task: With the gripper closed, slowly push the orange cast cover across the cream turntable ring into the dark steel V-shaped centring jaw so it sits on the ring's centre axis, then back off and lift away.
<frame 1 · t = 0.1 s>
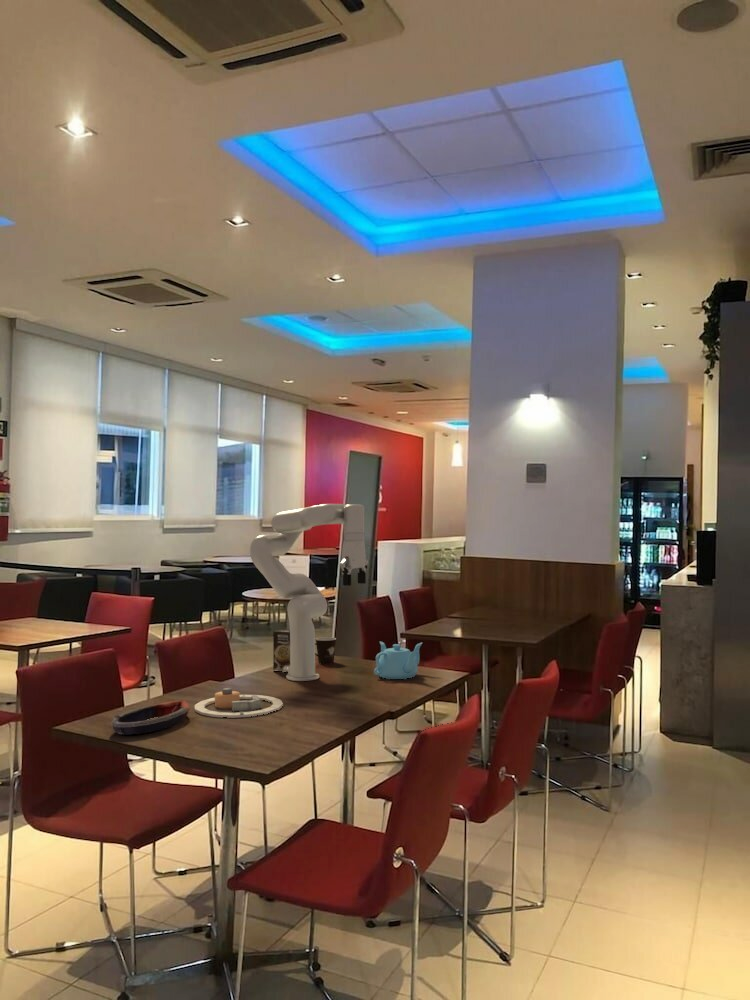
hand: (354, 584, 300), 37 cm above the table, tool pointing down, fingers open, 9 cm apart
centring jaw: (238, 707, 265), on the table
turntable ring: (238, 705, 265), point 1 cm above the table, hinge at 0.0°
teapot: (399, 676, 314), on the table
coffee box: (286, 671, 326), on the table
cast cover: (227, 705, 268), resting in turntable ring
dish: (153, 726, 244), on the table
coffee mug: (322, 663, 343), on the table
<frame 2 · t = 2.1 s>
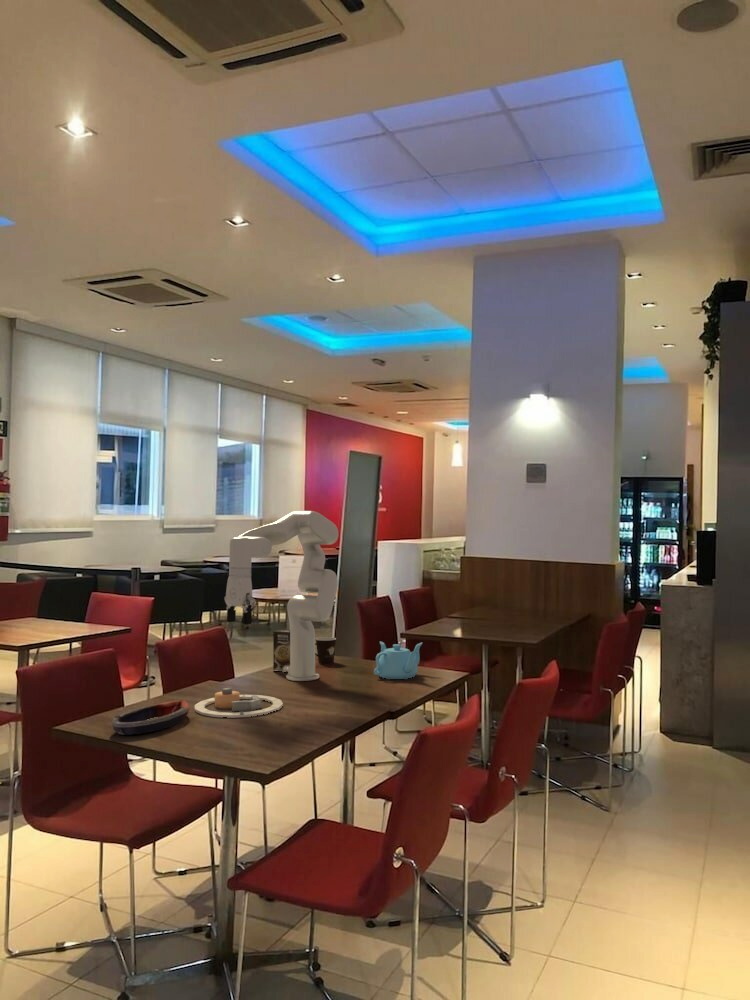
hand: (239, 622, 281), 25 cm above the table, tool pointing down, fingers open, 9 cm apart
nothing on the table moved.
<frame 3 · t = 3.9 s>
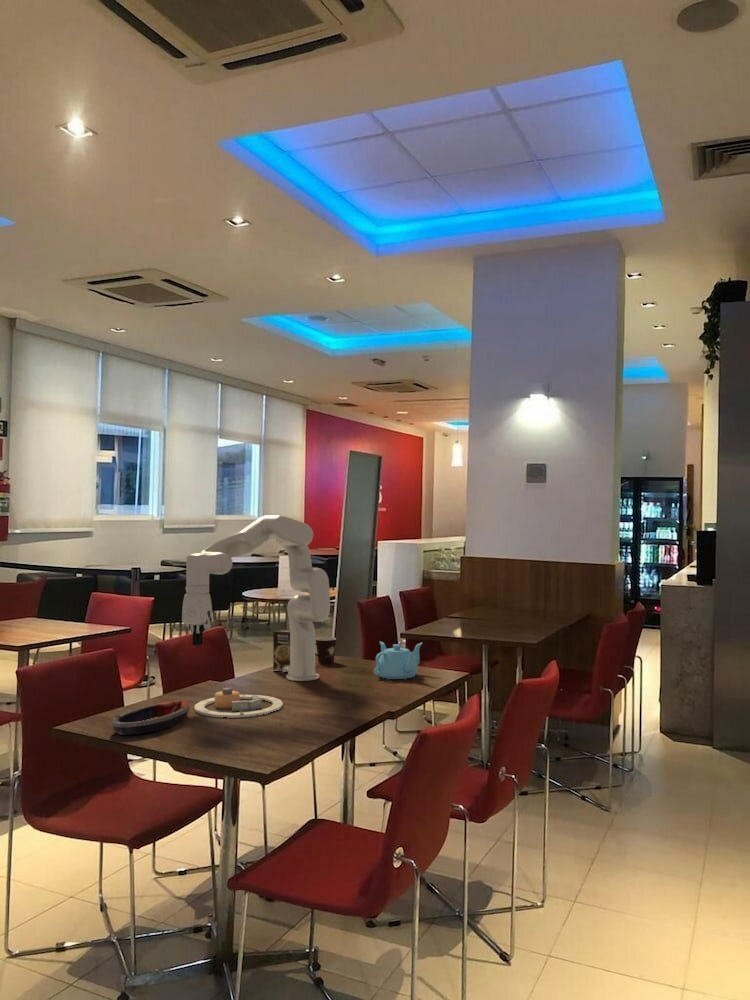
hand: (197, 644, 275), 19 cm above the table, tool pointing down, fingers closed
nothing on the table moved.
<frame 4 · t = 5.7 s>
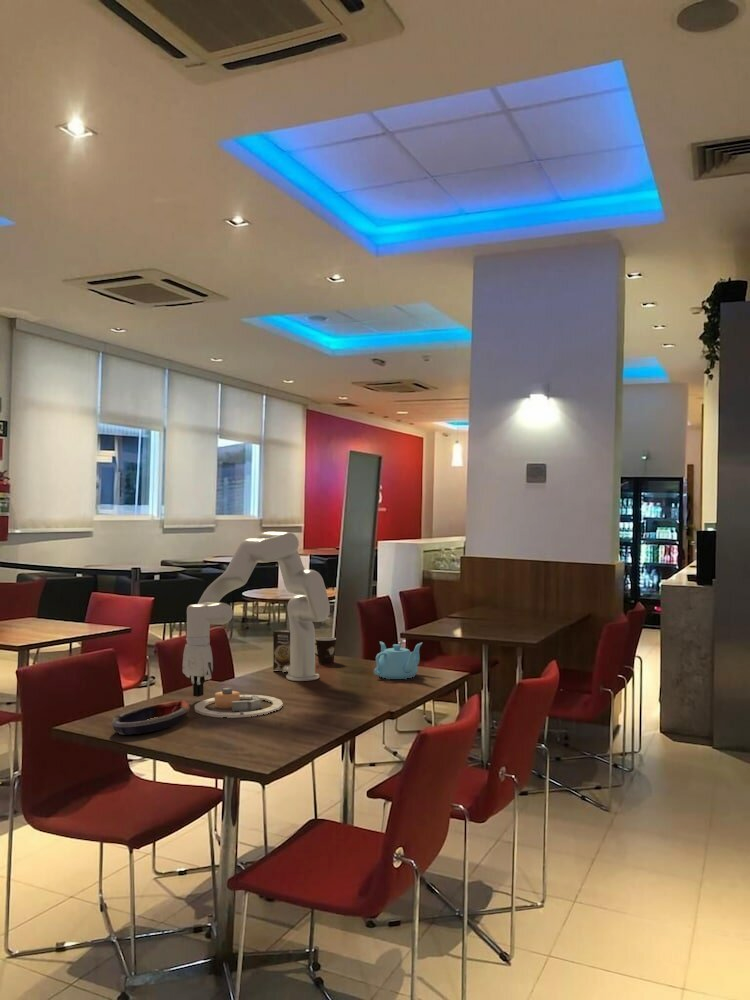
hand: (198, 695, 275), 2 cm above the table, tool pointing down, fingers closed
nothing on the table moved.
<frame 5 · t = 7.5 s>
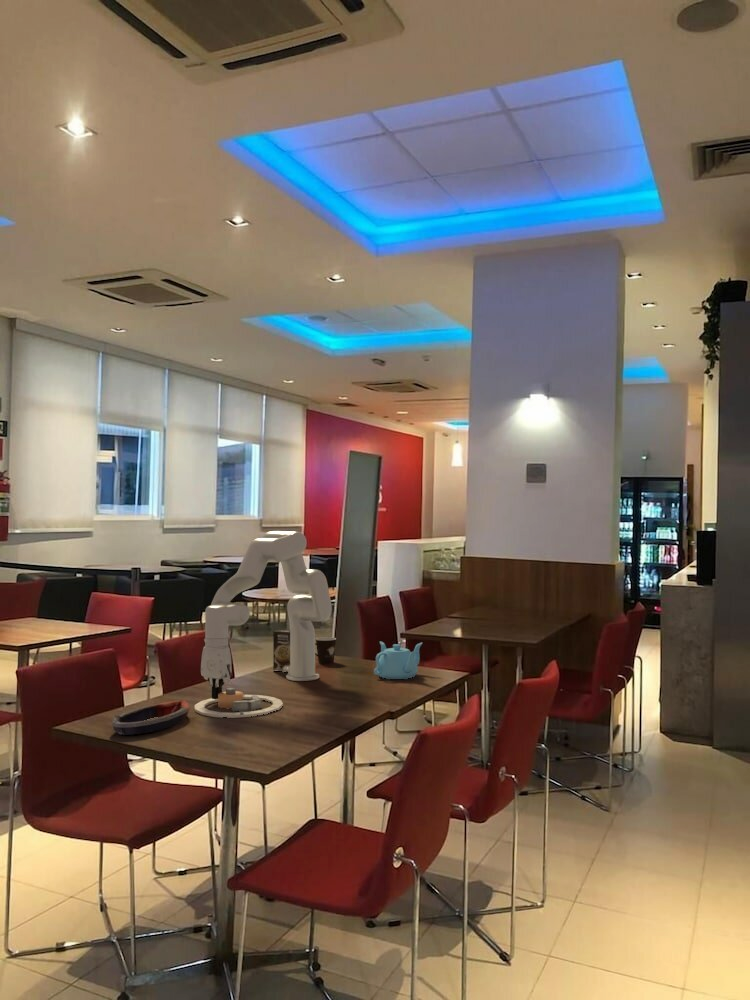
hand: (216, 698, 270), 2 cm above the table, tool pointing down, fingers closed
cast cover: (230, 705, 267), resting in turntable ring, touching gripper
everything else where it was.
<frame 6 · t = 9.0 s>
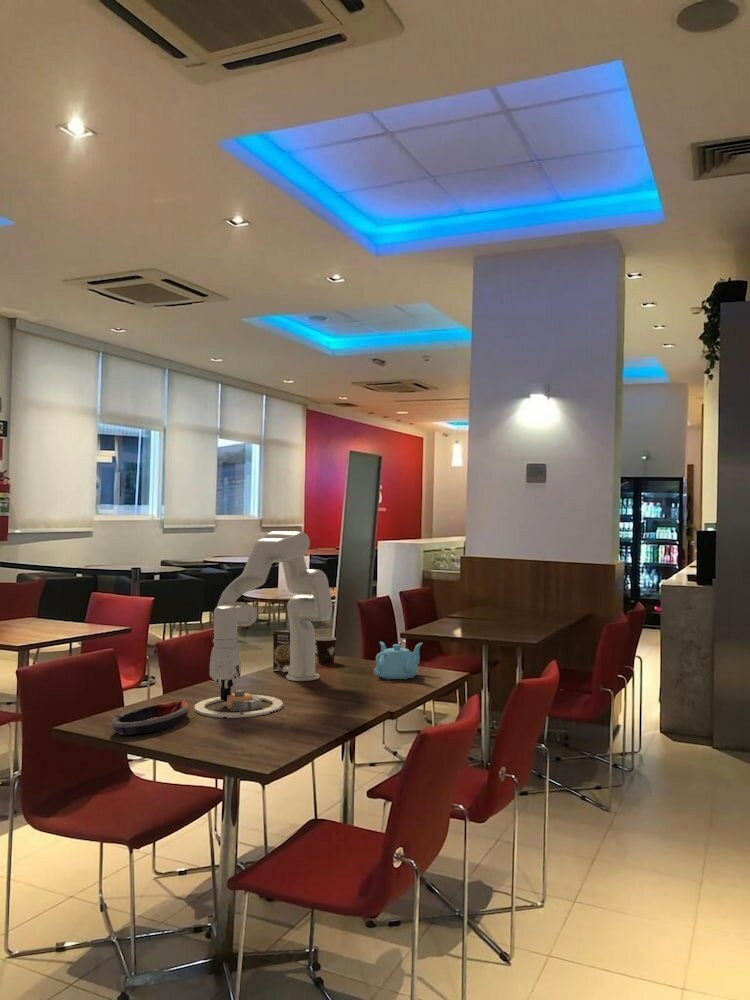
hand: (225, 699, 268), 2 cm above the table, tool pointing down, fingers closed
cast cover: (239, 708, 265), resting in turntable ring
everything else where it was.
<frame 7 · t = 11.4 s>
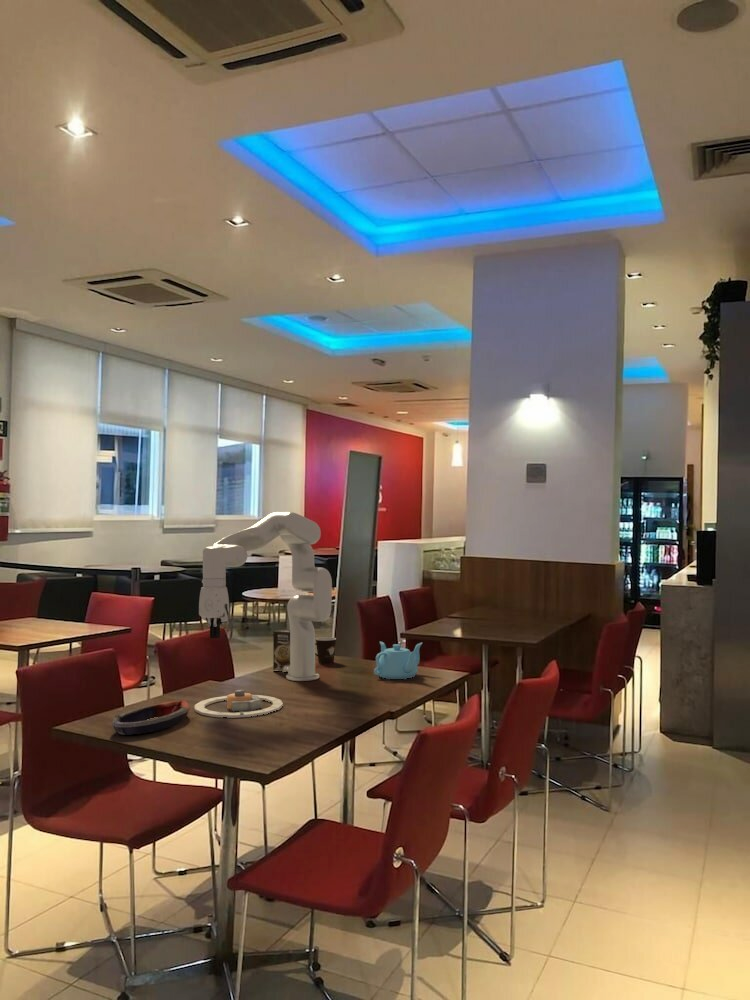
hand: (215, 637, 274), 21 cm above the table, tool pointing down, fingers closed
nothing on the table moved.
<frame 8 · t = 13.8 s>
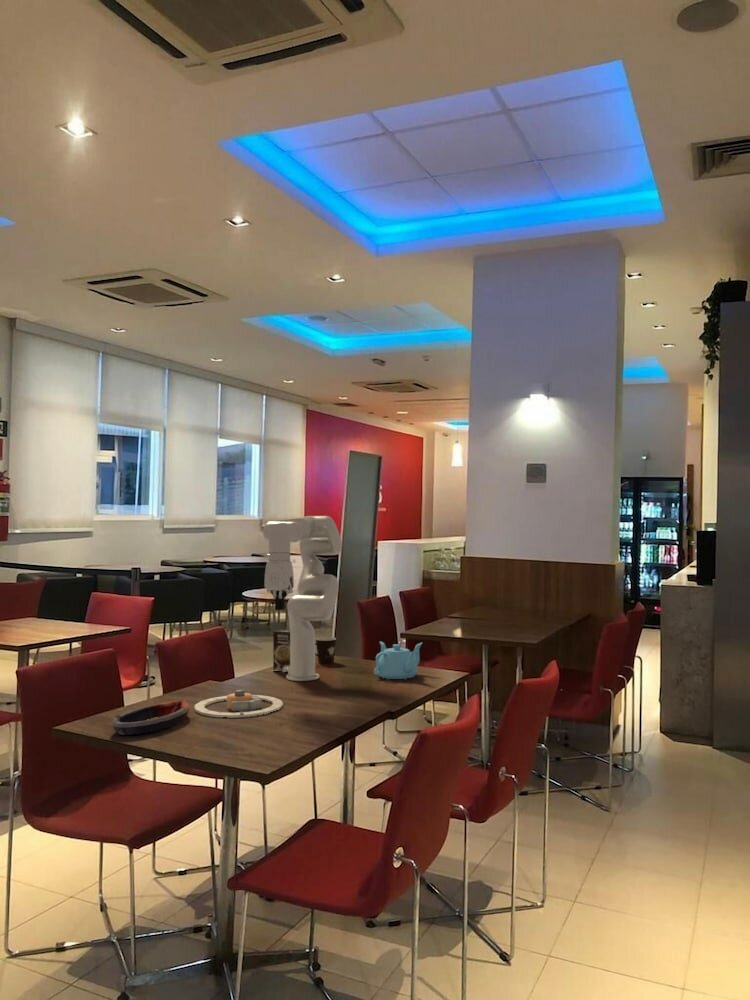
hand: (279, 609, 287), 29 cm above the table, tool pointing down, fingers closed
nothing on the table moved.
at the end: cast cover 0.4 cm from the turntable ring (horizontally); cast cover moved 5.4 cm from its start; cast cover tilted 0° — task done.
